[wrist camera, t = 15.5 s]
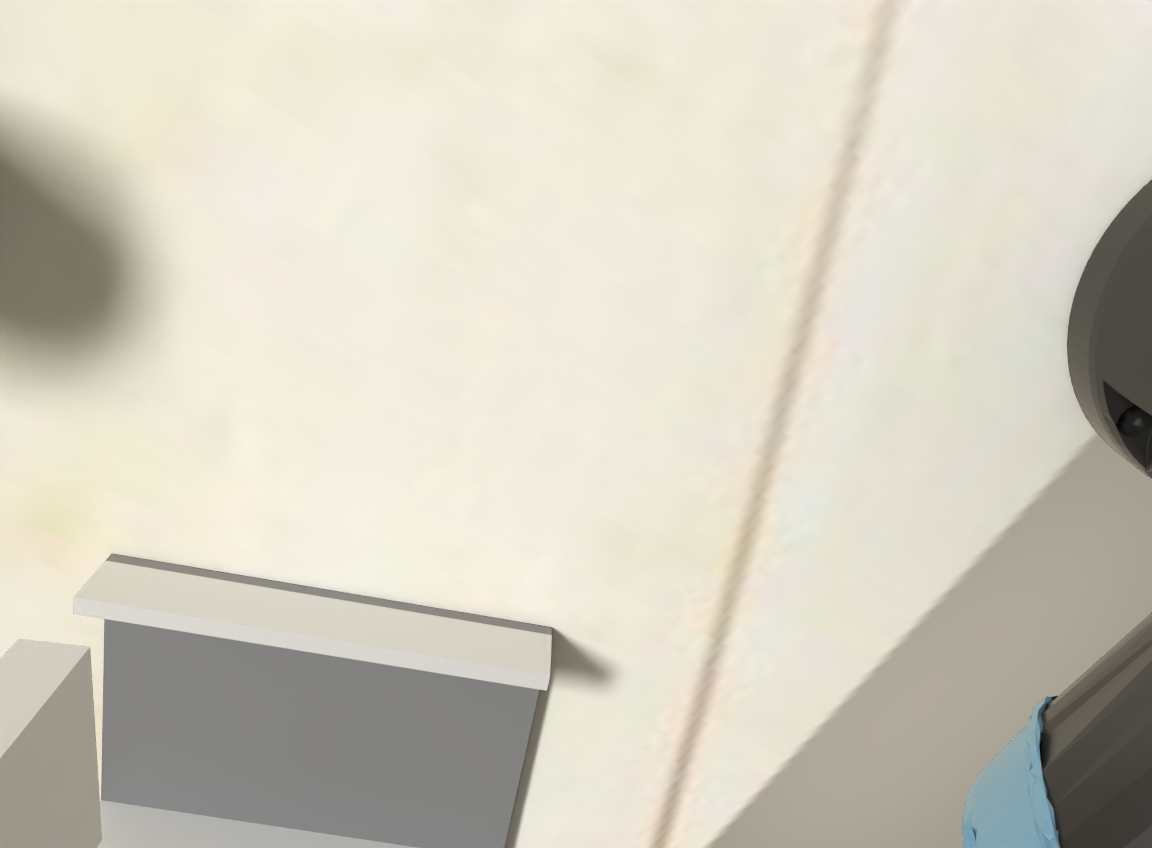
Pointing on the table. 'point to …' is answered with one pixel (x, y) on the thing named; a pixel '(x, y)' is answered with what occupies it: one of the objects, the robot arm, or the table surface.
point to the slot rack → (304, 714)
